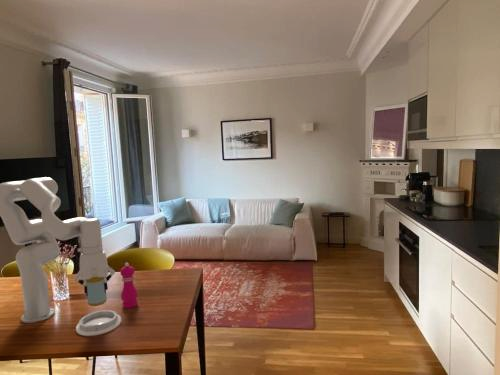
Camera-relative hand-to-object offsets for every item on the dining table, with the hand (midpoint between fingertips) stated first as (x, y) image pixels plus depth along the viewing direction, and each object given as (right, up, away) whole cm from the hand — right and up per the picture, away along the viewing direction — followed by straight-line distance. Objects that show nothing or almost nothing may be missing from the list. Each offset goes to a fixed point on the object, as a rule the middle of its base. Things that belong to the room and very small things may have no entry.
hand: (96, 292), depth 142 cm
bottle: (0, -5, 0) cm, 5 cm away
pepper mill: (+7, -12, +19) cm, 24 cm away
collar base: (0, -14, +1) cm, 14 cm away
